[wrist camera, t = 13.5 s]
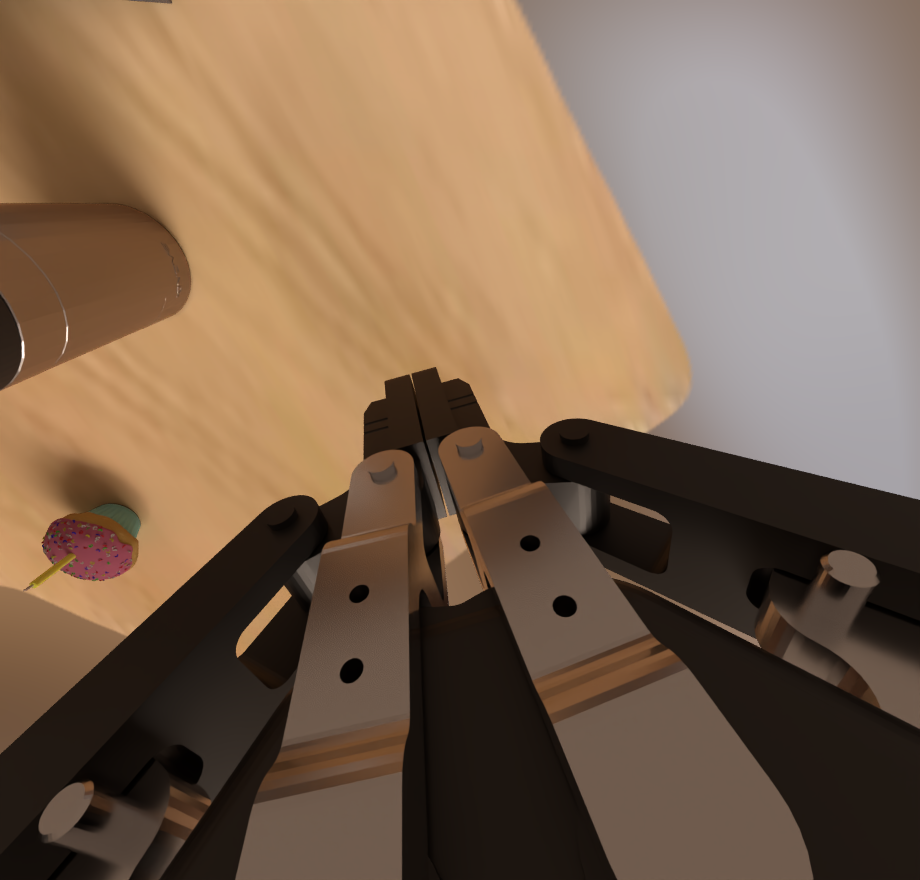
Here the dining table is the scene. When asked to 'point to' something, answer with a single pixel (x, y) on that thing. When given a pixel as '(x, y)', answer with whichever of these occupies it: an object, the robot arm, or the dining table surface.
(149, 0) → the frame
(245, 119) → the dining table surface
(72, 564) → the cupcake
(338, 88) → the dining table surface
